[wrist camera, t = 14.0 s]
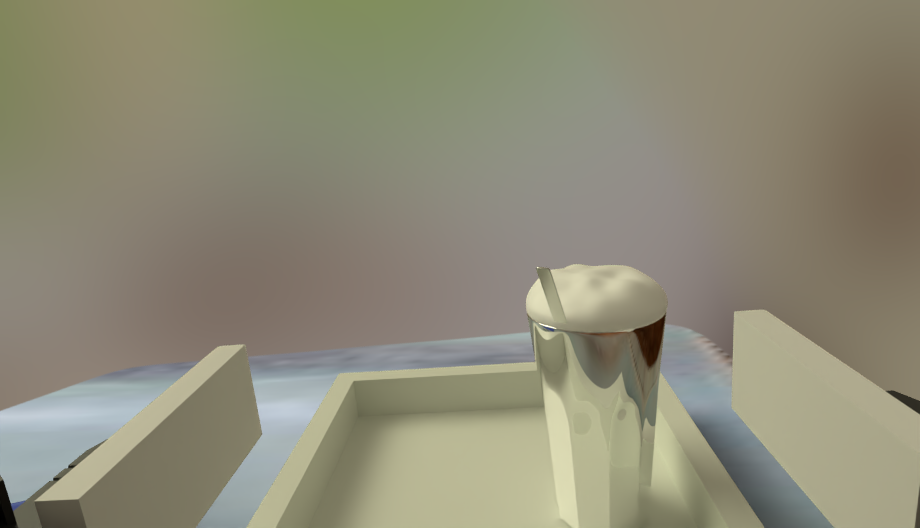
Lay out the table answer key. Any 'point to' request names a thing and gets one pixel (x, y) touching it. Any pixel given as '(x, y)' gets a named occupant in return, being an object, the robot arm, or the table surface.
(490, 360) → the table surface
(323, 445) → the tray
